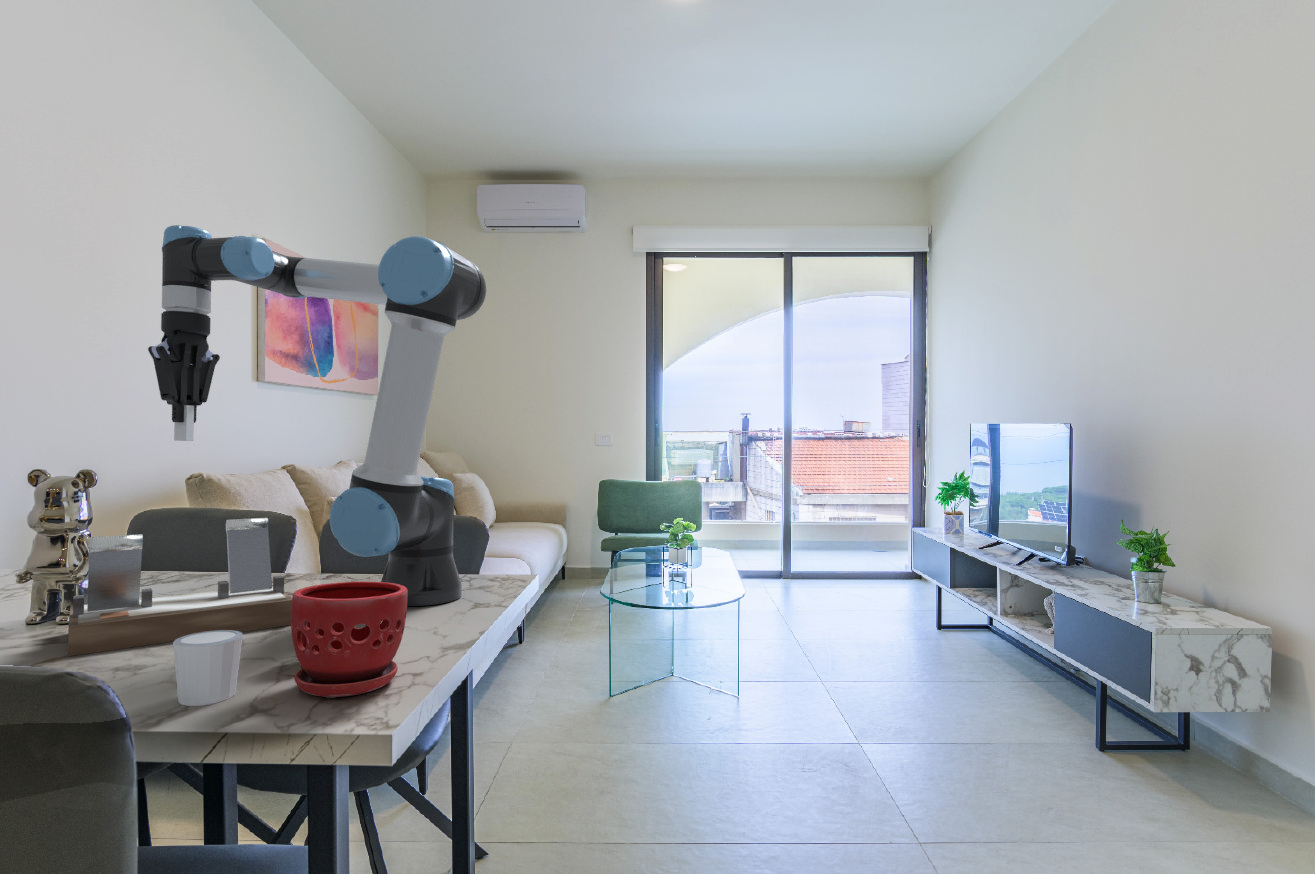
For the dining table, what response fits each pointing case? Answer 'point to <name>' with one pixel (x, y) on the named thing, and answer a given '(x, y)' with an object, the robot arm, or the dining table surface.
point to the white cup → (207, 666)
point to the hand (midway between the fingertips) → (183, 440)
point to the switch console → (176, 617)
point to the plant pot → (347, 636)
